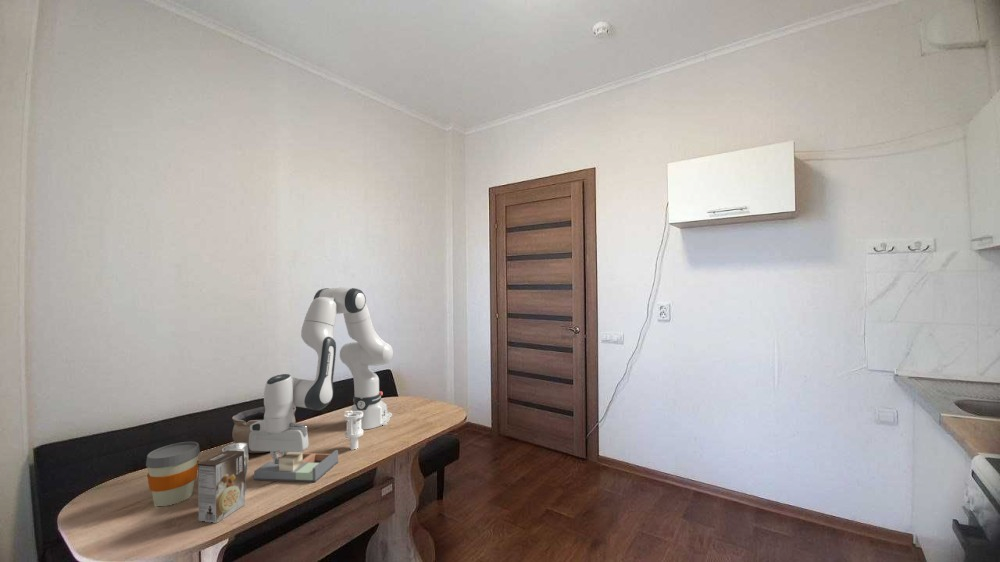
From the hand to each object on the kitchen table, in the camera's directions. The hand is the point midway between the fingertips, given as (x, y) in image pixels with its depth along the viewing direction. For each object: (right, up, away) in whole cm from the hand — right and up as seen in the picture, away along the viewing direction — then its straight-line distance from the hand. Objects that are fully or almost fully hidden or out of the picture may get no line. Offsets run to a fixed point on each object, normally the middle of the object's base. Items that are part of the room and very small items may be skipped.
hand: (279, 463), depth 127 cm
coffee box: (-4, -4, -21) cm, 22 cm away
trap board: (+5, -4, +3) cm, 7 cm away
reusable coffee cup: (-25, -5, -13) cm, 28 cm away
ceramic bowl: (-19, -5, +22) cm, 30 cm away
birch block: (+5, -1, -1) cm, 5 cm away
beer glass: (-7, -4, -12) cm, 14 cm away
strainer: (+18, -5, +21) cm, 28 cm away
